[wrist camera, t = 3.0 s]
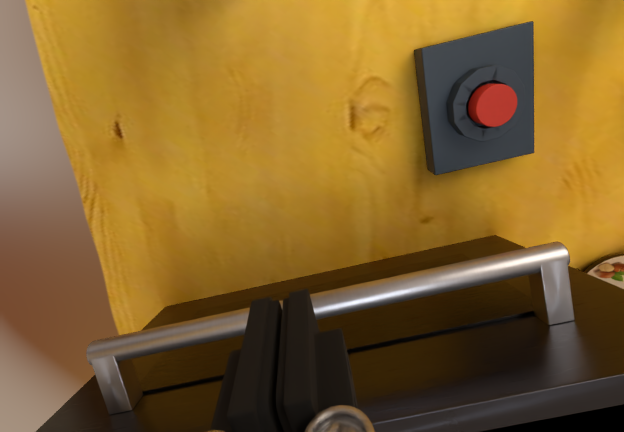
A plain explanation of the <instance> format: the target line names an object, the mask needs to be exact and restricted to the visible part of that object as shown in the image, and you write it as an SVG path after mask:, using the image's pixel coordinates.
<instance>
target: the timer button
mask: <svg viewBox="0 0 624 432" xmlns="http://www.w3.org/2000/svg"><path fill="white" fill-rule="evenodd" d="M516 107H517V96H516V93H515V92H514V90H513V89H512V88H511V87H509V86H507V85H504V84H486V85H483V86H481V87H479V88H478V89H477V90H476V91H475V92H474V93H473V94H472V96H471V98H470V100H469V103H468V112H469V115H470V117H471V119H472V120H473V121H474V122H476V123H478V124H481V125H485V126H489V127H497V126H500V125H503V124H504V123H506V122H507V121H508V120H510V118H511V117H512V116H513V115H514V113H515V110H516Z"/></svg>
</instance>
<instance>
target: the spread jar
mask: <svg viewBox="0 0 624 432" xmlns="http://www.w3.org/2000/svg"><path fill="white" fill-rule="evenodd" d="M584 273H587V274H589V275H591V276H594V277H596V278H599V279H601V280H603V281H606V282H608V283H610V284H613V285H615V286H618V287H620V288H622V289H624V254H615V255H610V256H606V257H603V258H601V259H599V260H597V261H596V262H594V263H593V264H591V265H590V266H589V267H588V268H587V269H586V270H585V271H584Z"/></svg>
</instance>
